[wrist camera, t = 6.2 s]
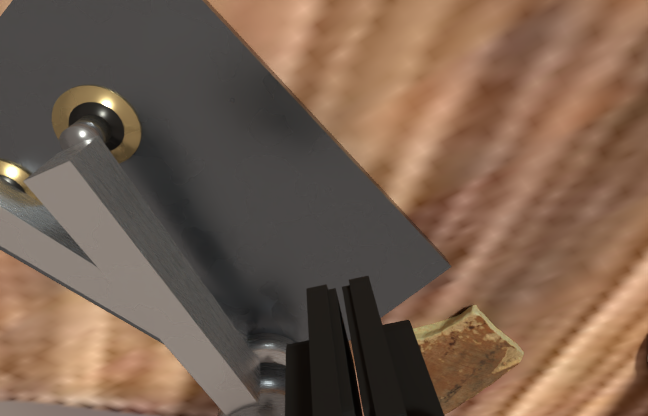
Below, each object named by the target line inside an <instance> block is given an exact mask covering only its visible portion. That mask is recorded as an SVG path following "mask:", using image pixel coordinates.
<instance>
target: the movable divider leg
mask: <svg viewBox="0 0 648 416" xmlns="http://www.w3.org/2000/svg"><path fill="white" fill-rule="evenodd" d="M111 135H112V130H111V127H110V125H109V123H108V122H107V121H106V120H105V119H104V118H102V117H100V116H98V115H94V114H89V115H85V116H83V117H82V118H81V119H79V120H78V121H76V122H75V123H74V124H72V125H71V126H69V127H68V128H67V129H65V130H64V131H63V132H62V133H61V135H60V139H59V141H60V145H61V148H62V149H63V151H61V152H59V153H57V154H56V155H55V156H54V157H52V158H51V159H50V160H49V161H47V162H46V163H45V164H44V165H42V166H41V167H40V168H39V169H38V170H36V171H35V172H34V173H33V174H31V175H30V176H29V177H28V178H26V179H25V180H24V181H23V182H24V183H25V184H26V185H27V186H28V187H29V189H30V190H31V191H32V192H33V193H34V194H35V196H36V197H37V198H38V199H39V200H40V201H41V202H42V204H43V205H44V206H45V207H46V208H47V209H48V211H49V212H50V213H51V214H52V215H53V216H54V218H55V219H56V220H57V221H58V222H59V223H60V224H61V226H62V227H63V228H64V229H65V230H66V231H67V233H68V234H69V235H70V236H71V237H72V238H73V239H74V241H75V242H76V243H77V244H78V245H79V246H80V248H81V249H82V250H83V251H84V252H85V253H86V254H87V256H88V257H89V258H90V259H91V260H92V261H93V263H94V264H95V265H96V266H97V267H98V268H99V269H100V271H101V272H102V273H103V274H104V275H105V276H106V278H107V279H108V280H109V281H110V282H111V283H112V284H113V286H114V287H115V288H116V289H117V290H118V291H119V293H120V294H121V295H122V296H123V297H124V298H125V299H126V301H127V302H128V303H129V304H130V305H131V306H132V308H133V309H134V310H135V311H136V312H137V313H138V314H139V316H140V317H141V318H142V319H143V320H144V321H145V323H146V324H147V325H148V326H149V327H150V328H151V330H152V331H153V332H154V333H155V334H156V335H157V336H158V338H159V339H160V340H161V341H162V342H163V343H164V345H165V346H166V347H167V348H168V349H169V350H170V351H171V353H172V354H173V355H174V356H175V357H176V358H177V360H178V361H179V362H180V363H181V364H182V365H183V366H184V368H185V369H186V370H187V371H188V372H189V373H190V375H191V376H192V377H193V378H194V379H195V380H196V381H197V383H198V384H199V385H200V386H201V387H202V388H203V390H204V391H205V392H206V393H207V394H208V395H209V396H210V398H211V399H212V400H213V401H214V402H215V403H216V405H217V406H218V407H219V412H218V416H285V371H286V366H285V365H282V364H278V363H270V362H263V363H260V361H259V360H258V359H257V357H256V356H255V354H254V353H253V352H252V350H251V349H250V347H249V346H248V345H247V343H246V342H245V340H244V339H243V337H242V336H241V335H240V333H239V332H238V330H237V329H236V328H235V326H234V325H233V323H232V322H231V321H230V319H229V318H228V316H227V315H226V314H225V312H224V311H223V309H222V308H221V307H220V305H219V304H218V302H217V301H216V300H215V298H214V297H213V295H212V294H211V292H210V291H209V290H208V288H207V287H206V285H205V284H204V283H203V281H202V280H201V278H200V277H199V276H198V274H197V273H196V271H195V270H194V269H193V267H192V266H191V264H190V263H189V262H188V260H187V259H186V257H185V256H184V255H183V253H182V252H181V250H180V249H179V247H178V246H177V245H176V243H175V242H174V240H173V239H172V238H171V236H170V235H169V233H168V232H167V231H166V229H165V228H164V226H163V225H162V224H161V222H160V221H159V219H158V218H157V217H156V215H155V214H154V212H153V211H152V209H151V208H150V207H149V205H148V204H147V202H146V201H145V200H144V198H143V197H142V195H141V194H140V193H139V191H138V190H137V188H136V187H135V186H134V184H133V183H132V181H131V180H130V179H129V177H128V176H127V174H126V173H125V172H124V170H123V169H122V167H121V166H120V164H119V163H118V162H117V160H116V159H115V157H114V156H113V155H112V153H111V152H110V150H109V149H108V148H107V146H106V145H105V144H106V143H107V142H108V141H109V140H110V138H111Z"/></svg>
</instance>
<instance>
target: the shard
mask: <svg viewBox="0 0 648 416" xmlns="http://www.w3.org/2000/svg"><path fill="white" fill-rule="evenodd" d="M413 331H414V334H415V336H416V339H417V342H418V345H419V347H420V350H421V353H422V356H423V358H424V361H425V364H426V367H427V369H428V372H429V375H430V378H431V380H432V383H433V386H434V389H435V391H436V394H437V397H438V399H439V402H440V405H441V408H442V410H443V413H444V415H445V414H446V413H448V412H450V411H452V410H454V409H455V408H457V407H458V406H460V405H461V404H462V403H464V402H465V401H466V400H468V399H471V398H472V397H474V396H475V395H476V394H478V393H479V392H481V391H482V390H483V389H485V388H486V387H488V386H490V385H491V384H492V383H494V382H495V381H496V380H497V379H499V378H501V376H502V375H503V374H504V373H506V372H508V371H509V370H510V369H512V368H513V367H515V366H516V365H518V364H519V363H520V361H521V359H522V357H523V355H524V353H523V351H522V350H521V348H520V347H519V346H518V345H517V344H516V343H515V342H514V341H512V340H511V339H510V338H509V337H507V336H506V335H505V334H504V333H502V332H501V331H500V330H499V329H497V328H496V327H495V326H494V325H493V324H492V323H491V322H490V321H489V319H488V318H487V317H486V316H485V315H484V314H483V313H482V312H481V311H480V310H479V309H478V308H477V306H476V305H472V306H471V307H469V308H468V309H467V310H465V311H464V312H463V313H461V314H459V315H458V316H454V317H451V318H449V319H447V320H444V321H440V322H438V323H435V324H431V325H426V326H422V327H418V328H414V329H413Z"/></svg>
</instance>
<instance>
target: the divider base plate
mask: <svg viewBox="0 0 648 416" xmlns="http://www.w3.org/2000/svg"><path fill="white" fill-rule="evenodd" d="M89 114H94V115H98V116H100V117H102V118H104V119H105V120H106V121H107V122H108V123H109V125H110V127H111V130H112V135H111V138H110V140H109V141H108V142H107V143H106V144H105V145H106V146H107V148H108V149H109V150H110V152H111V153H112V155H113V156H114V157H115V159H116V160H117V162H118V163H119V164H120V166H121V167H122V169H123V170H124V172H125V173H126V174H127V176H128V177H129V179H130V180H131V181H132V183H133V184H134V186H135V187H136V188H137V190H138V191H139V193H140V194H141V195H142V197H143V198H144V200H145V201H146V202H147V204H148V205H149V207H150V208H151V209H152V211H153V212H154V214H155V215H156V217H157V218H158V219H159V221H160V222H161V224H162V225H163V226H164V228H165V229H166V231H167V232H168V233H169V235H170V236H171V238H172V239H173V240H174V242H175V243H176V245H177V246H178V247H179V249H180V250H181V252H182V253H183V255H184V256H185V257H186V259H187V260H188V262H189V263H190V264H191V266H192V267H193V269H194V270H195V271H196V273H197V274H198V276H199V277H200V278H201V280H202V281H203V283H204V284H205V285H206V287H207V288H208V290H209V291H210V292H211V294H212V295H213V297H214V298H215V300H216V301H217V302H218V304H219V305H220V307H221V308H222V309H223V311H224V312H225V314H226V315H227V316H228V318H229V319H230V321H231V322H232V323H233V325H234V326H235V328H236V329H237V330H238V332H239V333H240V335H241V336H242V337H243V339H244V340H245V342H246V343H247V345H248V346H249V347H250V349H251V350H252V352H253V353H254V354H255V356H256V357H257V359H258V360H259V361H260V363H263V362H270V363H278V364H282V365H285V366H286V346H287V344H292V343H297V342H302V341H307V340H309V333H308V314H307V294H306V289H307V288H311V287H316V286H320V285H325V284H327V287H328V289H333V288H336V292H337V296H338V300H339V304H340V308H341V313H342V317H343V321H344V325H345V329H346V333H347V338H348V341H349V340H351V337H350V332H349V326H348V320H347V314H346V308H345V303H344V297H343V291H342V287H343V286H348V285H350V284H349V279H354V278H359V277H364V276H369V279H370V283H371V286H372V290H373V294H374V297H375V301H376V304H377V308H378V312H379V315H380V318H381V317H382V316H384V315H385V314H387V313H388V312H389V311H391V310H392V309H394V308H395V307H396V306H398V305H399V304H400V303H402V302H403V301H405V300H406V299H407V298H409V297H410V296H412V295H413V294H414V293H416V292H417V291H418V290H420V289H421V288H423V287H424V286H425V285H427V284H428V283H430V282H431V281H432V280H434V279H435V278H436V277H438V276H439V275H441V274H442V273H443V272H445V271H446V270H448V269H449V268H450V267H451V265H450V264H449V262H448V261H447V259H446V258H445V256H444V255H443V254H442V253H441V252H440V251H439V250H438V249H437V248H436V247H435V245H434V244H433V243H432V242H431V241H430V240H429V239H428V238H427V237H426V236H425V235H424V234H423V233H422V231H421V230H420V229H419V228H418V227H417V226H416V225H415V224H414V223H413V222H412V221H411V220H410V219H409V217H408V216H407V215H406V214H405V213H404V212H403V211H402V210H401V209H400V208H399V207H398V206H397V205H396V203H395V202H394V201H393V200H392V199H391V198H390V197H389V196H388V195H387V194H386V193H385V192H384V191H383V189H382V188H381V187H380V186H379V185H378V184H377V183H376V182H375V181H374V180H373V179H372V178H371V177H370V175H369V174H368V173H367V172H366V171H365V170H364V169H363V168H362V167H361V166H360V165H359V164H358V163H357V161H356V160H355V159H354V158H353V157H352V156H351V155H350V154H349V153H348V152H347V151H346V150H345V149H344V147H343V146H342V145H341V144H340V143H339V142H338V141H337V140H336V139H335V138H334V137H333V136H332V135H331V133H330V132H329V131H328V130H327V129H326V128H325V127H324V126H323V125H322V124H321V123H320V122H319V121H318V119H317V118H316V117H315V116H314V115H313V114H312V113H311V112H310V111H309V110H308V109H307V108H306V107H305V105H304V104H303V103H302V102H301V101H300V100H299V99H298V98H297V97H296V96H295V95H294V94H293V93H292V91H291V90H290V89H289V88H288V87H287V86H286V85H285V84H284V83H283V82H282V81H281V80H280V79H279V77H278V76H277V75H276V74H275V73H274V72H273V71H272V70H271V69H270V68H269V67H268V66H267V65H266V64H265V62H264V61H263V60H262V59H261V58H260V57H259V56H258V55H257V54H256V53H255V52H254V51H253V50H252V48H251V47H250V46H249V45H248V44H247V43H246V42H245V41H244V40H243V39H242V38H241V37H240V36H239V34H238V33H237V32H236V31H235V30H234V29H233V28H232V27H231V26H230V25H229V24H228V23H227V22H226V20H225V19H224V18H223V17H222V16H221V15H220V14H219V13H218V12H217V11H216V10H215V9H214V8H213V6H212V5H211V4H210V3H209V2H208V1H207V0H13V1H12V2H11V3H10V5H9V6H8V7H7V9H6V10H5V11H4V12H3V14H2V15H1V16H0V250H2V251H4V252H5V253H7V254H9V255H11V256H12V257H14V258H16V259H18V260H19V261H21V262H23V263H24V264H26V265H28V266H30V267H31V268H33V269H35V270H37V271H38V272H40V273H42V274H43V275H45V276H47V277H49V278H50V279H52V280H54V281H56V282H57V283H59V284H61V285H62V286H64V287H66V288H68V289H69V290H71V291H73V292H75V293H76V294H78V295H80V296H82V297H83V298H85V299H87V300H88V301H90V302H92V303H94V304H95V305H97V306H99V307H101V308H102V309H104V310H106V311H107V312H109V313H111V314H113V315H114V316H116V317H118V318H120V319H121V320H123V321H125V322H126V323H128V324H130V325H132V326H133V327H135V328H137V329H139V330H140V331H142V332H144V333H145V334H147V335H149V336H151V337H152V338H154V339H156V340H158V341H159V342H161V343H163V342H162V341H161V340H160V339H159V338H158V336H157V335H156V334H155V333H154V332H153V331H152V330H151V328H150V327H149V326H148V325H147V324H146V323H145V321H144V320H143V319H142V318H141V317H140V316H139V314H138V313H137V312H136V311H135V310H134V309H133V308H132V306H131V305H130V304H129V303H128V302H127V301H126V299H125V298H124V297H123V296H122V295H121V294H120V293H119V291H118V290H117V289H116V288H115V287H114V286H113V284H112V283H111V282H110V281H109V280H108V279H107V278H106V276H105V275H104V274H103V273H102V272H101V271H100V269H99V268H98V267H97V266H96V265H95V264H94V263H93V261H92V260H91V259H90V258H89V257H88V256H87V254H86V253H85V252H84V251H83V250H82V249H81V248H80V246H79V245H78V244H77V243H76V242H75V241H74V239H73V238H72V237H71V236H70V235H69V234H68V233H67V231H66V230H65V229H64V228H63V227H62V226H61V224H60V223H59V222H58V221H57V220H56V219H55V218H54V216H53V215H52V214H51V213H50V212H49V211H48V209H47V208H46V207H45V206H44V205H43V204H42V202H41V201H40V200H39V199H38V198H37V197H36V196H35V194H34V193H33V192H32V191H31V190H30V189H29V187H28V186H27V185H26V184H25V183H24V182H23V181H24V180H25V179H26V178H28V177H29V176H30V175H31V174H33V173H34V172H35V171H36V170H38V169H39V168H40V167H41V166H42V165H44V164H45V163H46V162H47V161H49V160H50V159H51V158H52V157H54V156H55V155H56V154H57V153H59V152H61V151H63V149H62V148H61V145H60V141H59V139H60V135H61V133H62V132H63V131H64V130H65V129H67V128H68V127H69V126H71V125H72V124H74V123H75V122H76V121H78V120H79V119H81V118H82V117H83V116H85V115H89ZM163 344H164V343H163Z"/></svg>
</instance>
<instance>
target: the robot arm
mask: <svg viewBox="0 0 648 416" xmlns="http://www.w3.org/2000/svg"><path fill="white" fill-rule="evenodd" d="M349 284H350V285H348V286H343V287H342V291H343V297H344V303H345V308H346V314H347V320H348V326H349V332H350V337H351V343H352V349H353V355H354V360H355V366H356V372H357V378H358V383H359V389H360V395H361V401H362V406H363V412H364V416H444V413H443V410H442V408H441V405H440V402H439V399H438V397H437V394H436V391H435V389H434V386H433V383H432V380H431V378H430V375H429V372H428V369H427V367H426V364H425V361H424V358H423V356H422V353H421V350H420V347H419V345H418V342H417V339H416V336H415V334H414V331H413V328H412V326H411V323H410V321H409V320H405V321H400V322H395V323H390V324H385V325H382V322H381V319H380V315H379V312H378V308H377V304H376V301H375V297H374V294H373V290H372V286H371V283H370V279H369V276H364V277H359V278H354V279H349ZM306 294H307V314H308V333H309V340H307V341H302V342H297V343H292V344H287V346H286V371H285V416H363V415H362V409H361V403H360V397H359V391H358V386H357V380H356V374H355V368H354V363H353V359H352V354H351V350H350V346H349V342H348V338H347V333H346V329H345V325H344V321H343V317H342V313H341V308H340V304H339V300H338V296H337V292H336V288H333V289H328V287H327V284H325V285H320V286H316V287H311V288H307V289H306ZM647 360H648V356H647Z"/></svg>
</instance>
